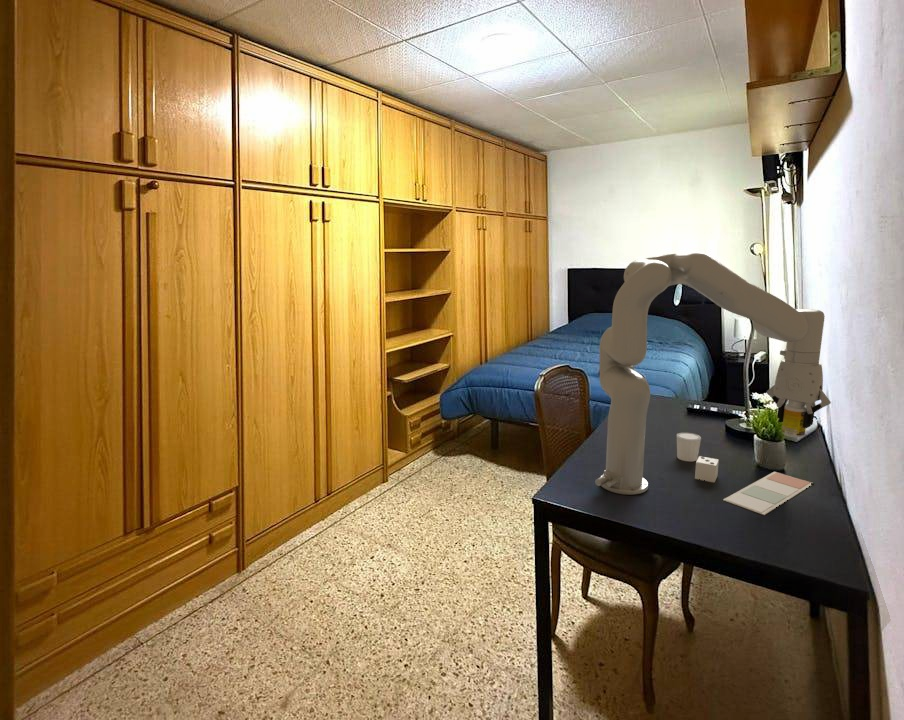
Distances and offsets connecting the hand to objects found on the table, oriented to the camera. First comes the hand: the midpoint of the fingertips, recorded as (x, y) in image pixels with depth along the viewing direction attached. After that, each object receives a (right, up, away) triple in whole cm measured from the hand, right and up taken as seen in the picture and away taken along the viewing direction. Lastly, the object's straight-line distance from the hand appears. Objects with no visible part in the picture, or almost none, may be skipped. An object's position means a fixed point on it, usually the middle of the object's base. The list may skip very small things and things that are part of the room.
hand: (794, 423), depth 145 cm
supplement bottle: (0, -3, +1) cm, 3 cm away
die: (-20, -16, +7) cm, 27 cm away
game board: (-8, -18, -3) cm, 20 cm away
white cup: (-20, -13, +21) cm, 31 cm away
